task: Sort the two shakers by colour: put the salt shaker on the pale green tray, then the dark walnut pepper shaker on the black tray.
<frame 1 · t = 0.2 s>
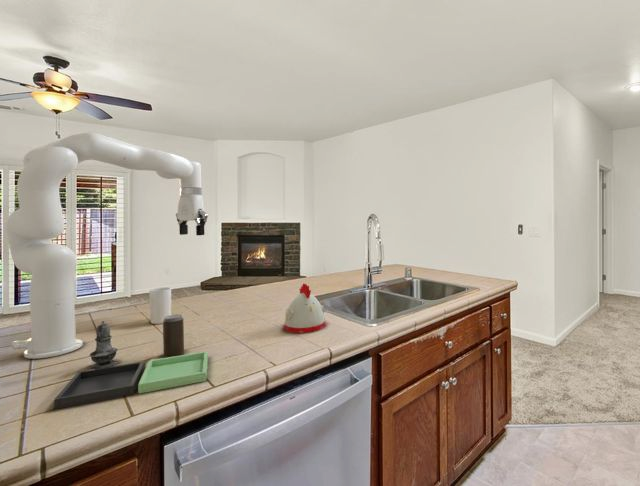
hand: (191, 234, 147), 31 cm above the counter, tool pointing down, fingers open, 9 cm apart
dark tray: (104, 386, 86), on the counter
pale tray: (176, 374, 92), on the counter
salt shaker: (104, 365, 98), on the counter
mug: (160, 320, 136), on the counter
kitchen timer: (305, 326, 129), on the counter
pepper shaker: (174, 354, 105), on the counter
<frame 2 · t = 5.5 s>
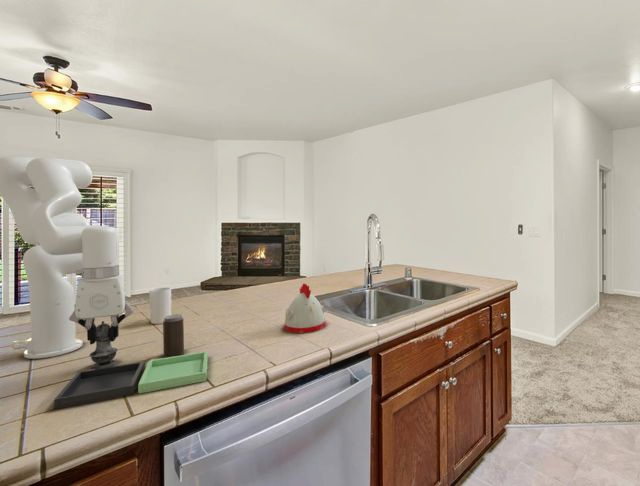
hand: (103, 340, 97), 7 cm above the counter, tool pointing down, fingers closed on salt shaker, 3 cm apart
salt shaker: (104, 365, 98), on the counter, touching gripper
everything else where it was.
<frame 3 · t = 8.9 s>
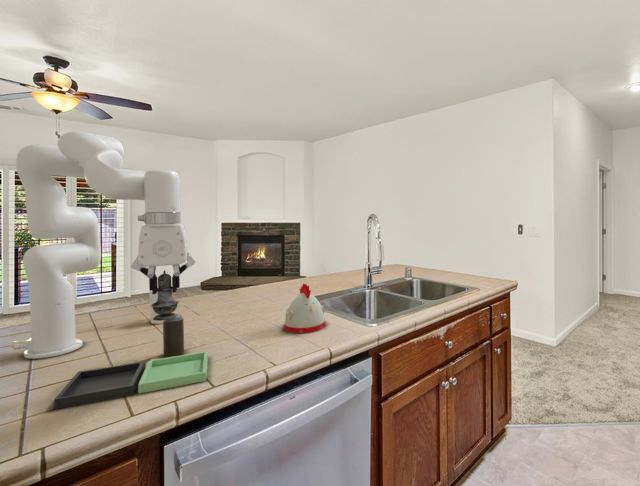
hand: (165, 291, 92), 21 cm above the counter, tool pointing down, fingers closed on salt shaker, 3 cm apart
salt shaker: (165, 318, 92), point 14 cm above the counter, touching gripper
everything else where it was.
when the fingers open (7 cm above the counter, at t = 12.4 s): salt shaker stays where it is, resting on pale tray.
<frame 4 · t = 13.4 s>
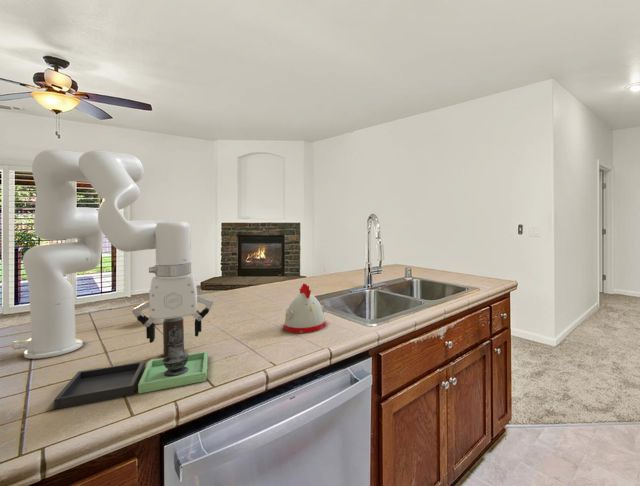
hand: (175, 337, 92), 9 cm above the counter, tool pointing down, fingers open, 9 cm apart
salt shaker: (176, 372, 92), resting on pale tray
everything else where it was.
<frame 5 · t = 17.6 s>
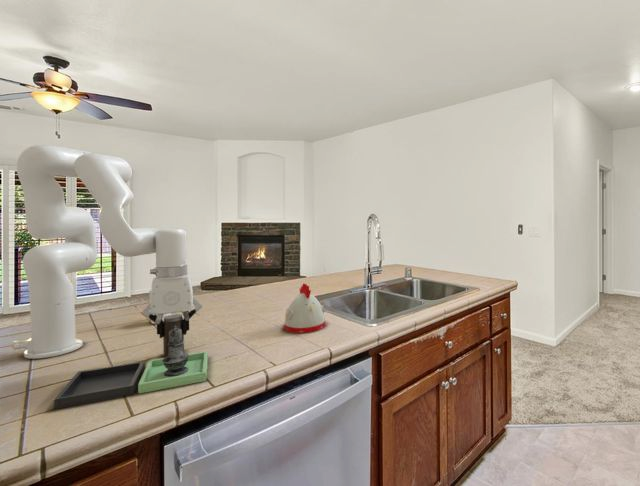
hand: (173, 334, 105), 6 cm above the counter, tool pointing down, fingers closed on pepper shaker, 5 cm apart
pepper shaker: (174, 354, 105), on the counter, touching gripper
everything else where it was.
when the fingers open (6 cm above the counter, at t = 25.0 s): pepper shaker stays where it is, resting on dark tray.
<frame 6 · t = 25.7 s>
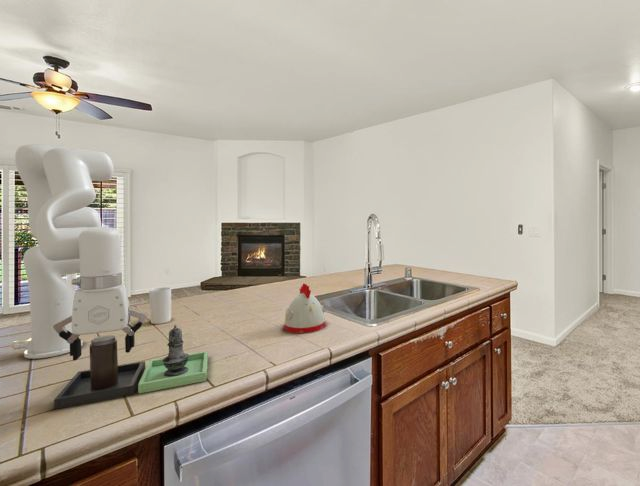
hand: (103, 354, 86), 8 cm above the counter, tool pointing down, fingers open, 9 cm apart
pepper shaker: (104, 384, 86), point 1 cm above the counter, touching dark tray
everything else where it was.
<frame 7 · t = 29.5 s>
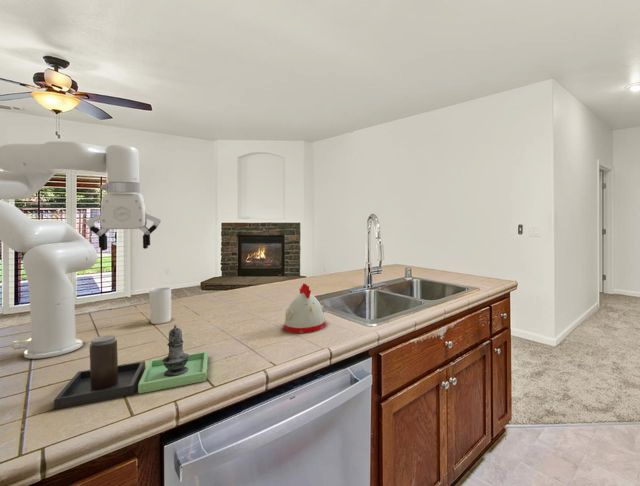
hand: (125, 249, 105), 30 cm above the counter, tool pointing down, fingers open, 9 cm apart
nothing on the counter moved.
at the end: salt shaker inside the target area in the pale tray (0.1 cm from its centre), point 0.4 cm above the pale tray's base; pepper shaker inside the target area in the dark tray (0.1 cm from its centre), point 0.6 cm above the dark tray's base; pepper shaker tilted 0° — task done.
